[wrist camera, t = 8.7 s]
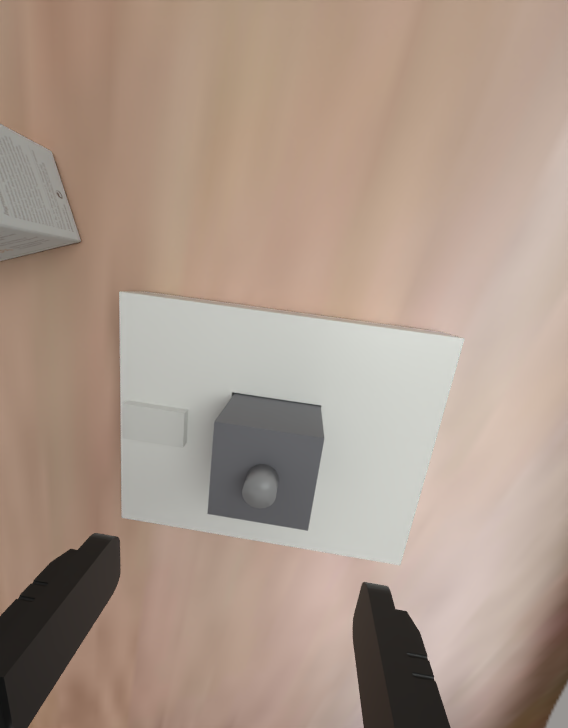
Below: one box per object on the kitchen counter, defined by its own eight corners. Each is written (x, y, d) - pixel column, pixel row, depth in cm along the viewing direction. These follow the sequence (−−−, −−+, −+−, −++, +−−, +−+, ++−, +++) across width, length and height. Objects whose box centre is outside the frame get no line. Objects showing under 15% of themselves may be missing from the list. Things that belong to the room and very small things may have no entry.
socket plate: (146, 291, 20) (112, 291, 17) (440, 331, 19) (470, 340, 16) (144, 490, 24) (116, 524, 21) (388, 531, 23) (403, 573, 20)
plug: (244, 379, 21) (205, 432, 13) (318, 390, 21) (326, 451, 13) (238, 446, 23) (199, 531, 14) (307, 457, 22) (307, 550, 14)
